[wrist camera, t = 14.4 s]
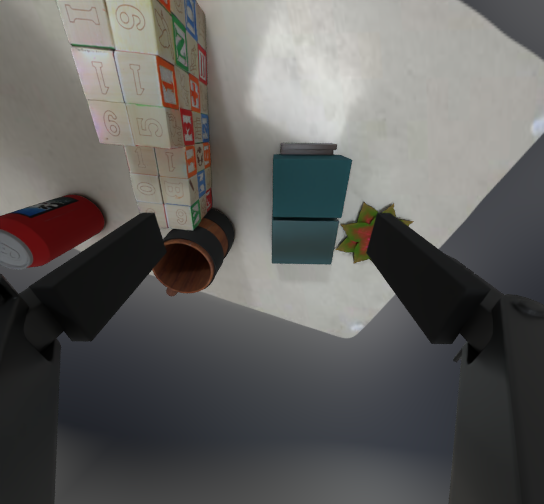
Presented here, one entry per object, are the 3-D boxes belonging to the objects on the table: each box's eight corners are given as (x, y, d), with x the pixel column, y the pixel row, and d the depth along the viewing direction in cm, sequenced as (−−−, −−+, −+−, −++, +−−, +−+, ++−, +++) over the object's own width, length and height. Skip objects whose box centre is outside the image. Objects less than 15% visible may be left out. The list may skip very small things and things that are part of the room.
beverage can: (72, 183, 32) (-28, 210, 21) (115, 214, 34) (44, 251, 24) (57, 212, 34) (-39, 249, 24) (98, 239, 36) (27, 283, 26)
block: (273, 154, 28) (273, 158, 24) (340, 154, 28) (352, 159, 24) (273, 204, 32) (272, 217, 27) (332, 205, 31) (341, 217, 27)
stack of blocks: (213, 206, 33) (183, 244, 22) (173, 202, 33) (124, 238, 22) (205, 12, 22) (138, -96, 11) (145, 4, 22) (20, -113, 11)
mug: (169, 251, 37) (128, 294, 27) (196, 194, 32) (158, 221, 22) (213, 273, 39) (190, 322, 29) (244, 224, 34) (231, 261, 24)
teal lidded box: (273, 142, 28) (272, 145, 23) (340, 143, 28) (352, 146, 23) (272, 250, 37) (271, 268, 32) (323, 251, 37) (330, 269, 32)
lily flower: (380, 271, 39) (392, 288, 35) (322, 252, 37) (327, 267, 33) (425, 214, 33) (445, 226, 29) (359, 187, 31) (371, 196, 27)
